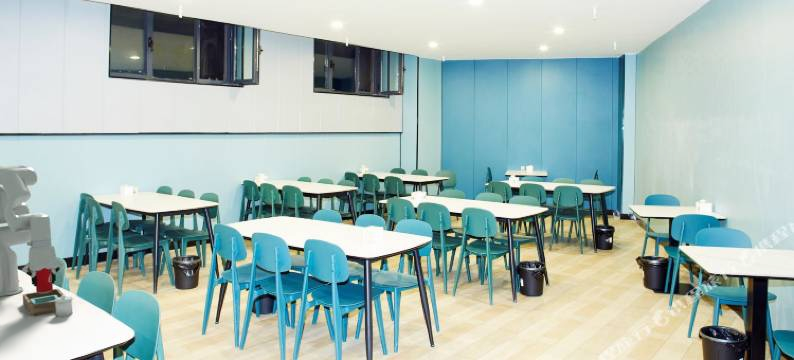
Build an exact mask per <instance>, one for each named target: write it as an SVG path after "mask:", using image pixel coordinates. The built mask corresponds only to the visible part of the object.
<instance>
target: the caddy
mask: <svg viewBox="0 0 794 360" xmlns="http://www.w3.org/2000/svg"><path fill="white" fill-rule="evenodd" d="M52 295H57V296H58V297H61V296H63V295H65V294H64V293H63V292H62V290H60V288H53V290H52V291H51V292H49V293H43V294H40V293H38V292H36V291H35V292H30V293H24V294H22V305H23V306H24V307H25V309H26V311H27V312H28V313H29V316H30V317H35V316H36V317H37V316H41V315H47V314H52V313H53V314H54V313H56V306H55V302H54V301H52V302H46V303H40V304H35V305H33V304H32V303H31V301H30V299H34V298H40V297H46V296H52Z"/></svg>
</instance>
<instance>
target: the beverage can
mask: <svg viewBox="0 0 794 360" xmlns="http://www.w3.org/2000/svg"><path fill="white" fill-rule="evenodd" d="M35 277H36V284H37V286H35V290H36V291H35V292H38V293H40V294H43V293H49V292H51V291H52V290H53V289H54V285H53V283H52V270H51V269H47V268H43V269H41V270H40V271H36V274H35Z"/></svg>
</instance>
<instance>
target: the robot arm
mask: <svg viewBox="0 0 794 360" xmlns="http://www.w3.org/2000/svg"><path fill="white" fill-rule="evenodd" d="M37 174H38V173H36V171H35V169H34V168H32V167H29V166H25V165H6V166H5V165H4V166H2V165H1V166H0V225H1V224H2V225H3V224H7V225H3V226H0V297H5V296H12V295H16V294H19V293H22V292H23V291H24V288H23V287H22V286H20V284H19V283H20V280H19V270H18V256H17V253H16V251H14V250H13V248H11V247H13V246H17V245H23V244H26V245H27V247H28V246H29V250H28V262H27V263H26V264H25V265H24V266H23V268H21V271H22V272H23V273H25V274H26V275H28V276H29V277H31V285H33V286H34V287H36V286H37V284H36V277H35V274H36V271H40V270H41V269H43V268H47V269H51V270H52V283H53V284H55V282H56V281H57V277H56V276H57V275H56V274H57V273H58V272H59V271H60V270H61V268H63V266H64V263H62V262H61V261H59V260H58V259H57V253H56V250H55V245H52V234H51V219H50V216H49V215H47V214H44V213H42V212H31V213H30V209H29V207H28V204H26V202H27V201H29V200H30V198H31V196H32V195H31V191H30V190H29V187H28V186H33V185H36V184H37V182H38V175H37ZM28 269H29V270H30V271H29V270H28Z"/></svg>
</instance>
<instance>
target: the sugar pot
mask: <svg viewBox="0 0 794 360" xmlns="http://www.w3.org/2000/svg"><path fill="white" fill-rule="evenodd" d="M54 302H55V306H56V312H55V316H56V317H58V318H64V317H68V316H72V315H73V296H70V295H68V296H66V295H65V294H64V295H63V296H61V297H59V298H56V299H54Z"/></svg>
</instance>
